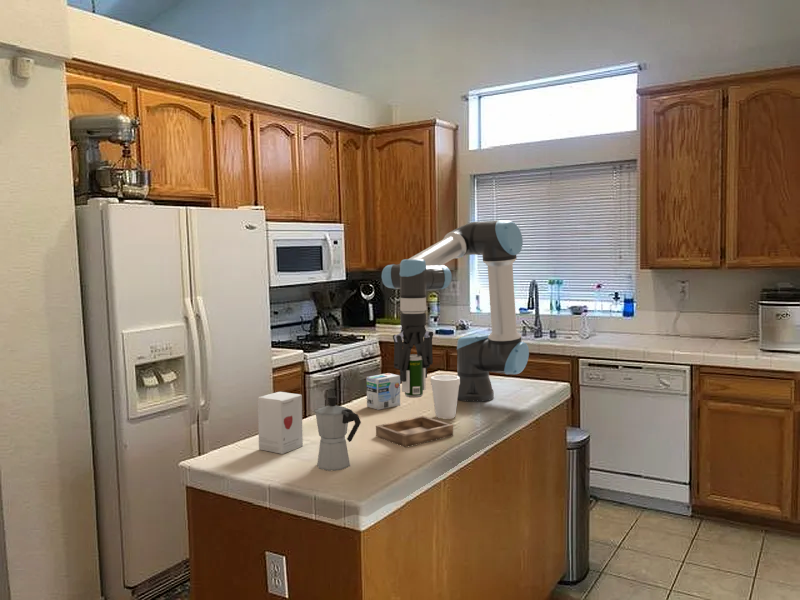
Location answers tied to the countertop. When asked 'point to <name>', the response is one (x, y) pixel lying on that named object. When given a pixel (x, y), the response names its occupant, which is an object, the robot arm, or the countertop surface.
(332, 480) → the countertop surface
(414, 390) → the beer can
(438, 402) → the foam cup
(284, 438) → the supplement box
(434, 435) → the tray
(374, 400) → the light bulb box
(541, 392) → the countertop surface
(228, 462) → the countertop surface
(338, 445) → the coffee maker
